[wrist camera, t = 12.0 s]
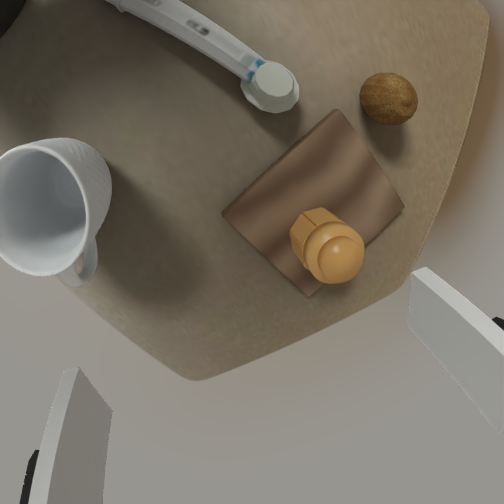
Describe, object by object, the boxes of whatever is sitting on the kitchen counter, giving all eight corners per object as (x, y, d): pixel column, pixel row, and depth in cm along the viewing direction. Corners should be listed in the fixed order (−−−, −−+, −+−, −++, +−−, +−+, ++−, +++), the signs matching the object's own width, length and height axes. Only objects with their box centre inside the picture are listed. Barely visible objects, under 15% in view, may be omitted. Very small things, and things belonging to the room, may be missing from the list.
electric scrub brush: (121, -41, 19) (320, 80, 25) (136, -16, 25) (303, 91, 32) (87, -6, 20) (285, 120, 27) (108, 15, 26) (274, 124, 33)
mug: (142, 245, 36) (123, 305, 24) (64, 263, 35) (24, 323, 23) (113, 120, 30) (70, 123, 18) (31, 149, 29) (-34, 169, 17)
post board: (221, 212, 36) (226, 228, 31) (333, 109, 34) (356, 109, 29) (304, 292, 43) (318, 314, 38) (398, 203, 40) (422, 216, 35)
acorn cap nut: (295, 264, 39) (317, 298, 32) (286, 216, 36) (310, 242, 29) (341, 250, 40) (372, 279, 32) (336, 203, 37) (369, 225, 30)
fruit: (369, 132, 35) (407, 139, 28) (338, 94, 33) (374, 91, 26) (398, 103, 34) (438, 105, 27) (370, 65, 32) (409, 59, 25)
